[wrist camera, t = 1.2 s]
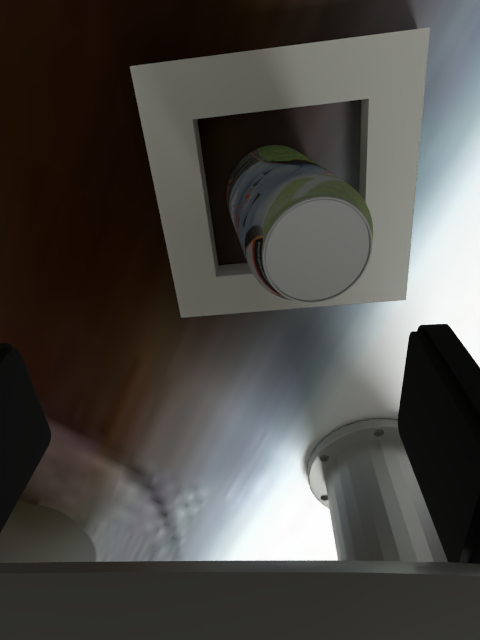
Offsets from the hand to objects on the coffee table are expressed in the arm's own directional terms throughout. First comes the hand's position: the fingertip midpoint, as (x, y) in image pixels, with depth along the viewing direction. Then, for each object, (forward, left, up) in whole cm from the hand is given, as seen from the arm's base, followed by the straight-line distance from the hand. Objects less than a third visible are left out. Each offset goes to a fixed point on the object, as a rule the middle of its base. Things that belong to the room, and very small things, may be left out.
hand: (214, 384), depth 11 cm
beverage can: (-1, -3, -21) cm, 22 cm away
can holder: (-1, -3, -21) cm, 21 cm away
